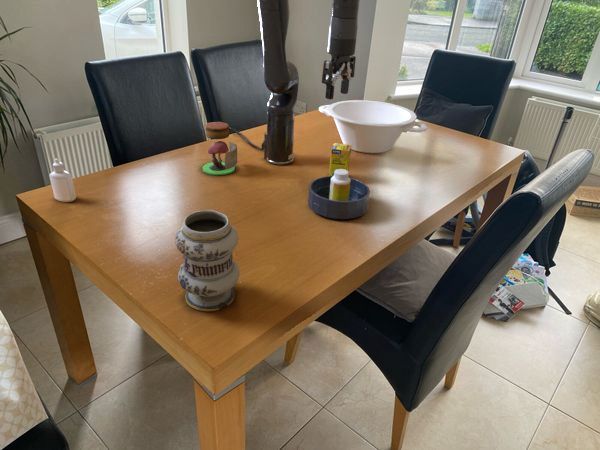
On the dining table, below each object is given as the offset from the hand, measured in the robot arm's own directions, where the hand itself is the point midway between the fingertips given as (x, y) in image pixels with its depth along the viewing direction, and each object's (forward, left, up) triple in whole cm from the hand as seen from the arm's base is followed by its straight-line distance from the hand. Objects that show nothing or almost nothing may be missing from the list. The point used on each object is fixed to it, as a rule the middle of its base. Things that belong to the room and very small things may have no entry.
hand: (336, 96), depth 130 cm
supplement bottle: (+10, -12, -27) cm, 31 cm away
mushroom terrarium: (-34, -14, -28) cm, 46 cm away
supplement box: (0, +6, -28) cm, 29 cm away
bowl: (+10, -12, -28) cm, 32 cm away
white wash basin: (-7, +41, -28) cm, 50 cm away
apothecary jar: (+9, -63, -28) cm, 70 cm away
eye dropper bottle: (-52, -57, -28) cm, 82 cm away
